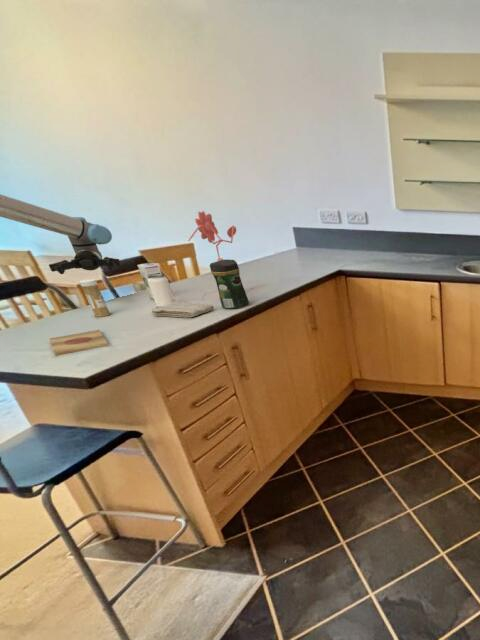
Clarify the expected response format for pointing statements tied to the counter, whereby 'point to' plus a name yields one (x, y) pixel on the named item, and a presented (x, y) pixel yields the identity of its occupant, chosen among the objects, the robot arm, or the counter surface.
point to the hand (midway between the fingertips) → (85, 268)
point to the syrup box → (149, 274)
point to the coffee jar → (229, 284)
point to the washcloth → (182, 309)
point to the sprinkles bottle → (94, 297)
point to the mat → (77, 342)
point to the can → (161, 290)
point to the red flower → (211, 231)
